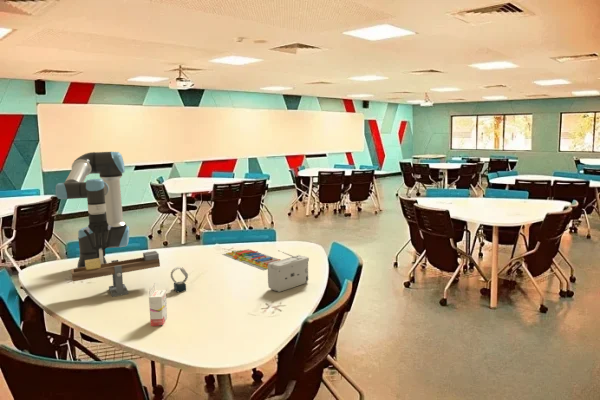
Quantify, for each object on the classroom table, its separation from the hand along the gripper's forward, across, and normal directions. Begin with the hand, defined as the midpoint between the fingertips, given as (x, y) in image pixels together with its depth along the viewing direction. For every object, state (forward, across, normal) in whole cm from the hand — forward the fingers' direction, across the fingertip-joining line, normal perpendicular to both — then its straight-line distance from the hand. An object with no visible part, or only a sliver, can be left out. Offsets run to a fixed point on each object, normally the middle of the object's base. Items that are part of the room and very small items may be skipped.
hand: (101, 263), depth 214 cm
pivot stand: (+15, +6, 0) cm, 16 cm away
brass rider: (+3, -4, 0) cm, 5 cm away
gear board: (+16, +85, +18) cm, 88 cm away
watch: (+15, +32, -13) cm, 38 cm away
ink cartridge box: (+15, +15, -47) cm, 52 cm away
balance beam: (+5, +6, 0) cm, 8 cm away
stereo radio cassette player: (+15, +79, -36) cm, 88 cm away
